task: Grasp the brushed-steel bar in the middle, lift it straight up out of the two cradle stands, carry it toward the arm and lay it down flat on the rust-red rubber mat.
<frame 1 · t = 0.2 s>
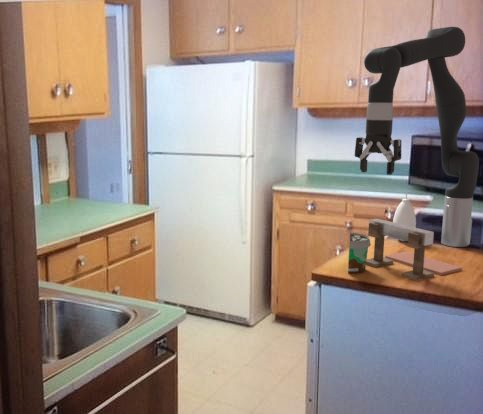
hand: (376, 173, 163), 28 cm above the counter, fingers open, 8 cm apart
rust mat: (422, 263, 169), on the counter
cradle stands: (397, 269, 163), on the counter
steel rail: (399, 237, 161), point 10 cm above the counter, touching cradle stands
sauce bottle: (403, 241, 198), on the counter
food container: (358, 270, 162), on the counter
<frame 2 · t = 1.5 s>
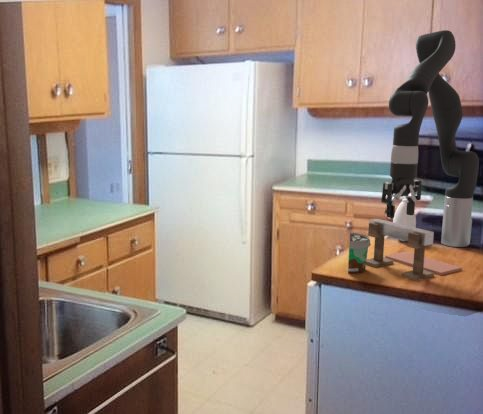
hand: (400, 216, 160), 16 cm above the counter, fingers open, 8 cm apart
nothing on the counter moved.
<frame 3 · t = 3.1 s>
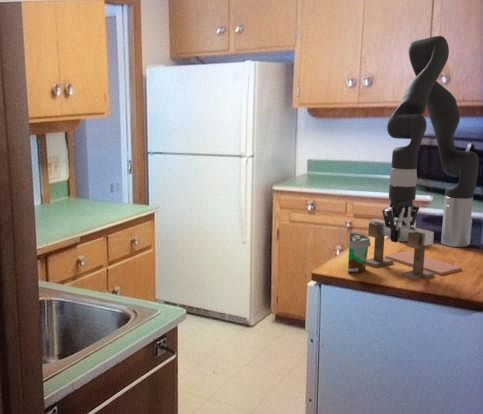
hand: (399, 240, 161), 9 cm above the counter, fingers closed on steel rail, 3 cm apart
steel rail: (399, 237, 161), point 10 cm above the counter, touching gripper, cradle stands
everything else where it was.
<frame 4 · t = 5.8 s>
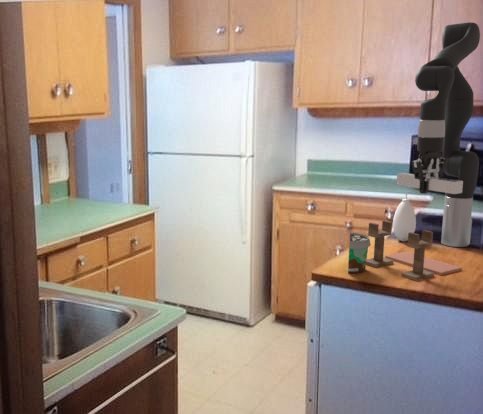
hand: (427, 192, 165), 23 cm above the counter, fingers closed on steel rail, 3 cm apart
steel rail: (427, 188, 164), point 24 cm above the counter, touching gripper
everything else where it was.
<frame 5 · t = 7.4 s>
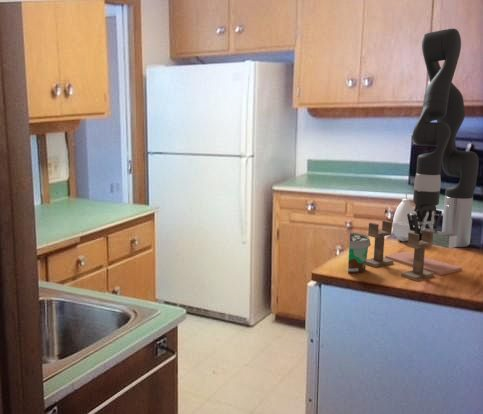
hand: (422, 243, 168), 7 cm above the counter, fingers closed on steel rail, 3 cm apart
steel rail: (422, 239, 168), point 8 cm above the counter, touching gripper
everything else where it was.
when the fingers open (2 cm above the counter, at t = 8.7 s): steel rail drops 2 cm, resting on rust mat.
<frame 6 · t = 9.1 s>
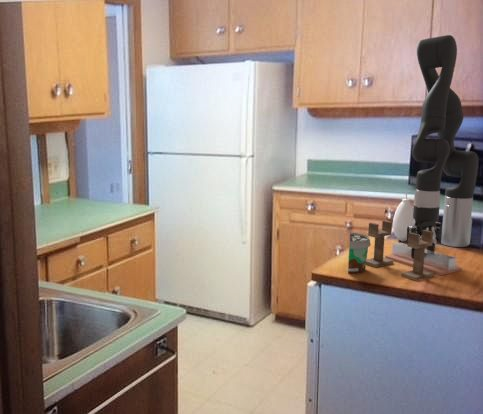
hand: (422, 256, 168), 2 cm above the counter, fingers open, 6 cm apart
steel rail: (422, 261, 169), point 1 cm above the counter, touching rust mat
everything else where it was.
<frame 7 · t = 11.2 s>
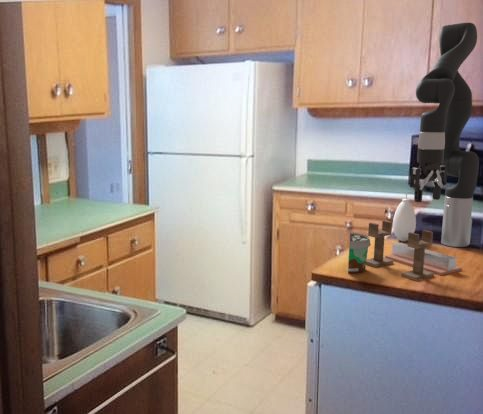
hand: (427, 200, 165), 20 cm above the counter, fingers open, 8 cm apart
nothing on the counter moved.
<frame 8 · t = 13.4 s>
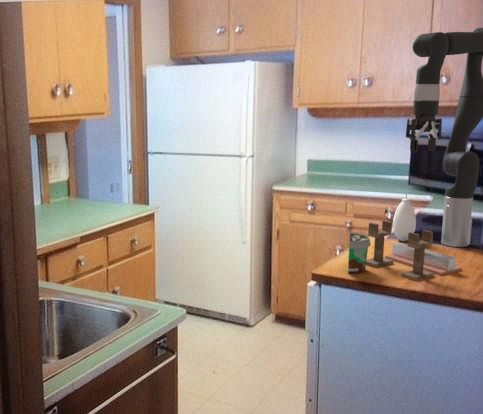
hand: (422, 151, 173), 34 cm above the counter, fingers open, 8 cm apart
nothing on the counter moved.
at the end: steel rail inside the target area on the rust mat (0.1 cm from its centre), point 0.8 cm above the rust mat's base; steel rail tilted 0°; the gripper is holding nothing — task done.
